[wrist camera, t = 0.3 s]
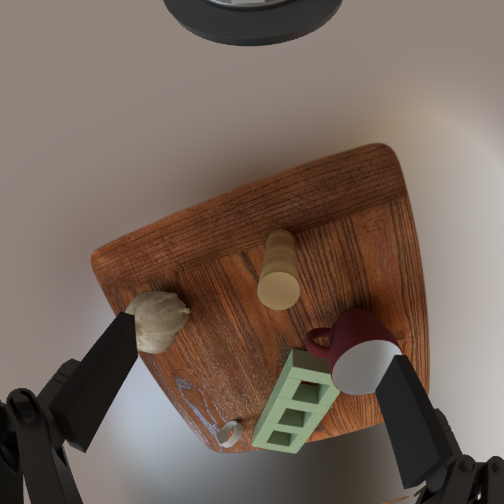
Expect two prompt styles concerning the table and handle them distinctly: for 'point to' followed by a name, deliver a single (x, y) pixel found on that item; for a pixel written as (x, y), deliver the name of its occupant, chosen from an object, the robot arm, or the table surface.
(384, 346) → the mug
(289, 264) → the peg
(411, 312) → the table surface
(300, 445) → the peg block
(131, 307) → the garlic bulb
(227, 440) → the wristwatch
